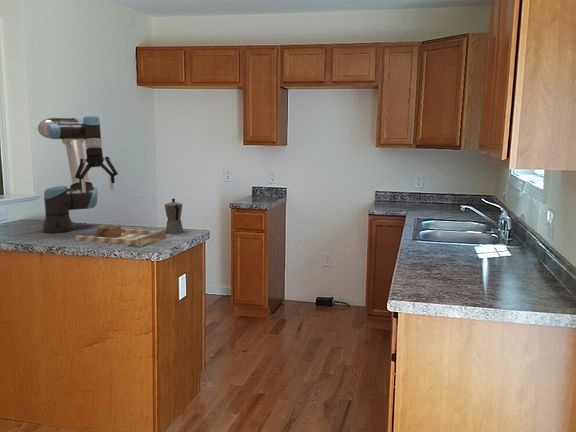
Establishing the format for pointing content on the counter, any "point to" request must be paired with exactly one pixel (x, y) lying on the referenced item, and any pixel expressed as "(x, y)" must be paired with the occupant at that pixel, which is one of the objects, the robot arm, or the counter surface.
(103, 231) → the walnut block
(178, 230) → the coffeepot
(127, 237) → the wooden cutlery tray
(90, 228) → the counter surface
